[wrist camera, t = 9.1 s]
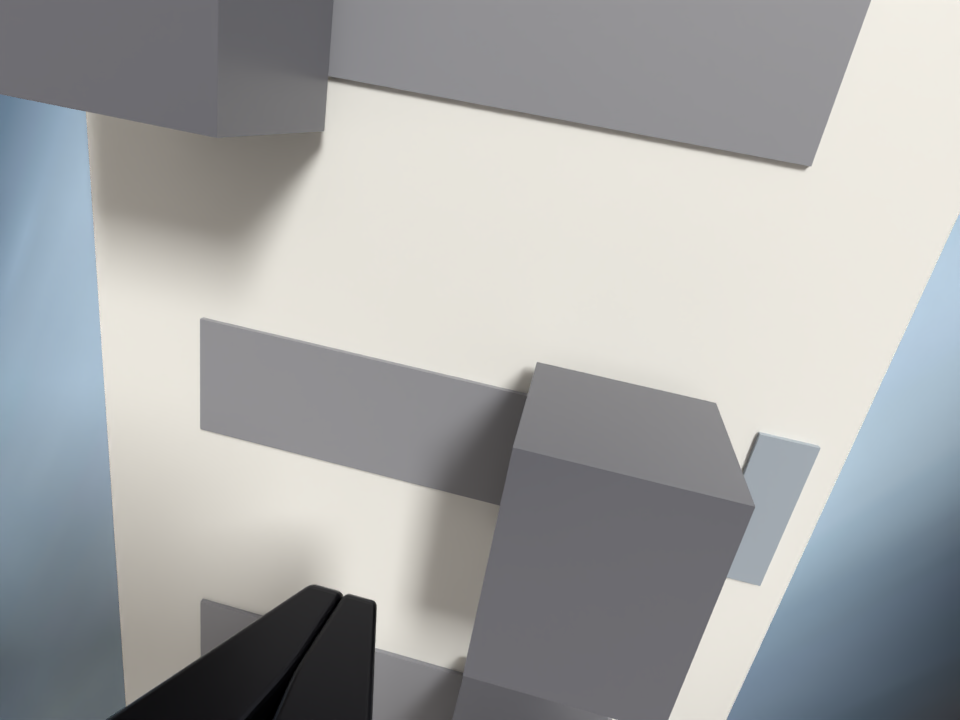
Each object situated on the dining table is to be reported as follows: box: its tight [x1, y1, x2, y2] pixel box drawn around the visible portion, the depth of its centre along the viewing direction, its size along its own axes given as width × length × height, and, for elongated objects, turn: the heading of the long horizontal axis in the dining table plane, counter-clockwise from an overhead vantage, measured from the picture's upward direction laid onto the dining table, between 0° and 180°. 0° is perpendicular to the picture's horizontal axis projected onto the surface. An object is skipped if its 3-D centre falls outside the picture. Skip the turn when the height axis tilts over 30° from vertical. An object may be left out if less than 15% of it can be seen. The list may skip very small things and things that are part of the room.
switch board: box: [86, 0, 960, 720], centre depth 13 cm, size 14×24×2 cm, turn 170°
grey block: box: [463, 362, 755, 720], centre depth 10 cm, size 3×4×3 cm
